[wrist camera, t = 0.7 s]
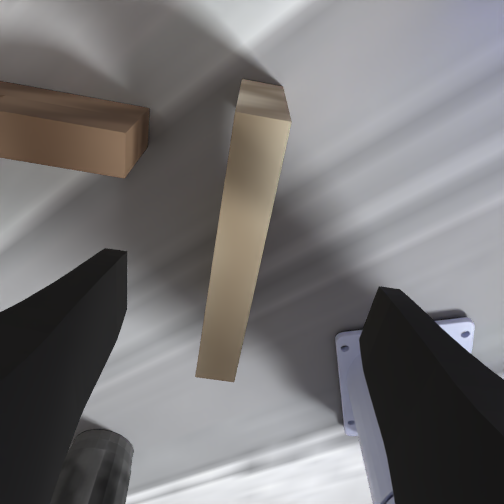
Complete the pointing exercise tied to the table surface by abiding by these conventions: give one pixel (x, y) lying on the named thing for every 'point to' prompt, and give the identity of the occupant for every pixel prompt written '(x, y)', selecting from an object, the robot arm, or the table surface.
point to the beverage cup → (95, 470)
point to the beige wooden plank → (243, 224)
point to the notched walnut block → (71, 130)
